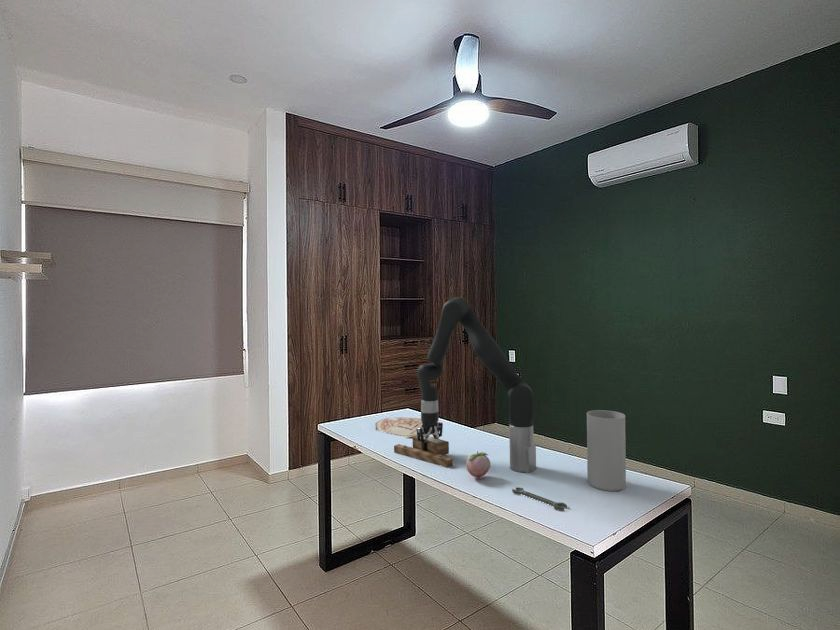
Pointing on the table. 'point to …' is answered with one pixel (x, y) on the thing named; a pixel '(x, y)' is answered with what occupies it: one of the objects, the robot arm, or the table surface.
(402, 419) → the poster
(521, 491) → the wrench
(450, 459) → the walnut rail
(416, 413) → the table surface
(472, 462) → the decorative fruit
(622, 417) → the cylinder vase
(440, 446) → the walnut frame
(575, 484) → the table surface
